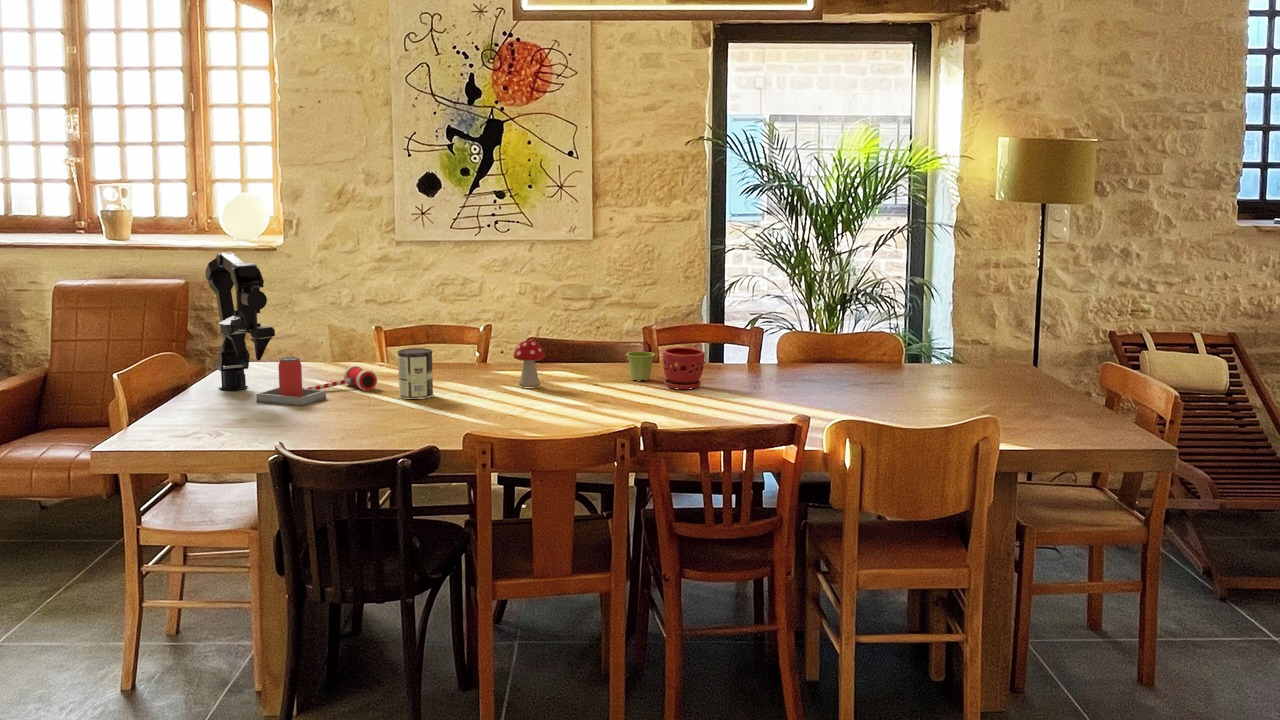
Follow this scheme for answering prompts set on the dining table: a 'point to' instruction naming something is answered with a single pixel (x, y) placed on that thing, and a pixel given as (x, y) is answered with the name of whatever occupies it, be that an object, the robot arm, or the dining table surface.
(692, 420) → the dining table surface
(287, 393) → the beer can
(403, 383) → the coffee can
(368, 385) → the toy hammer
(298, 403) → the tray
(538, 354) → the decorative mushroom
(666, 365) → the plant pot
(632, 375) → the plant pot
